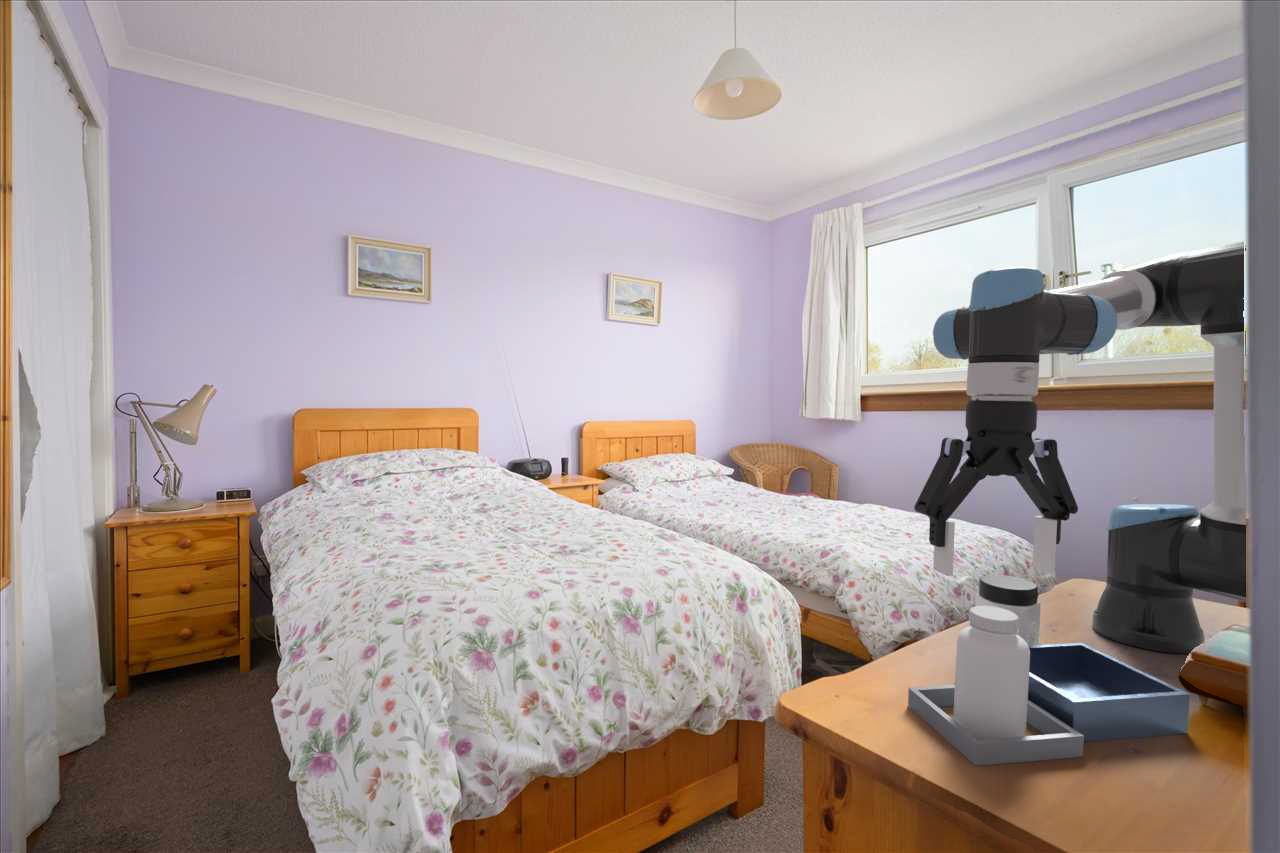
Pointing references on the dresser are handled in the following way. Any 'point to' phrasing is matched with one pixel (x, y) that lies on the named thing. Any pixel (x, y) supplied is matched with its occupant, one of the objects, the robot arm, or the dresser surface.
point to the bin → (1103, 694)
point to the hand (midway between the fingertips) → (993, 571)
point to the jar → (1013, 602)
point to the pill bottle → (991, 675)
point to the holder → (1001, 750)
